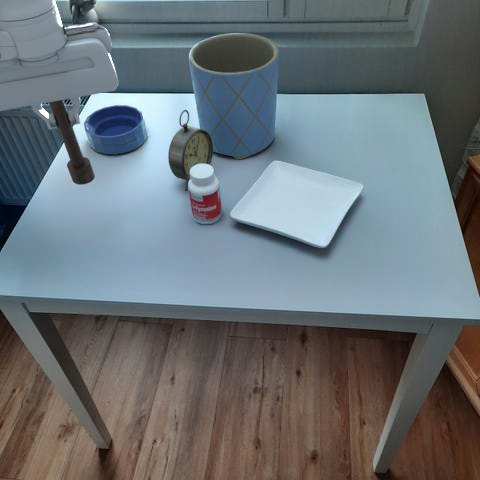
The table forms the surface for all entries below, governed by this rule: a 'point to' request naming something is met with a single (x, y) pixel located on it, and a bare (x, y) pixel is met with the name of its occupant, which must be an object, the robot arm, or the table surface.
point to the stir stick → (72, 146)
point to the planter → (236, 91)
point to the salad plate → (297, 203)
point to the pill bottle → (204, 194)
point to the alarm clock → (189, 150)
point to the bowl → (115, 129)
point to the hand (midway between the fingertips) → (64, 125)
